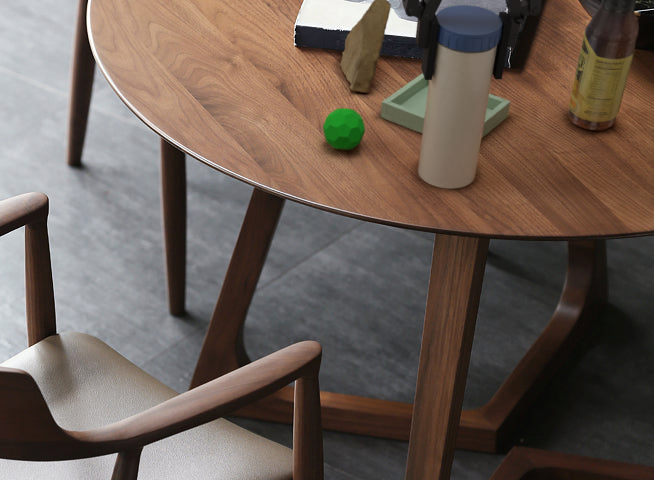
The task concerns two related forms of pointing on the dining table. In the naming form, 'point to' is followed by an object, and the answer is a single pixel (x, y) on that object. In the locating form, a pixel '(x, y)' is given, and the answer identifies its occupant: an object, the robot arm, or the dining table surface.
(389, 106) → the tray
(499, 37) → the lid
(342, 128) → the polyhedron
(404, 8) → the robot arm
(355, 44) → the rock
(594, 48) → the sauce bottle
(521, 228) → the dining table surface
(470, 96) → the jar
